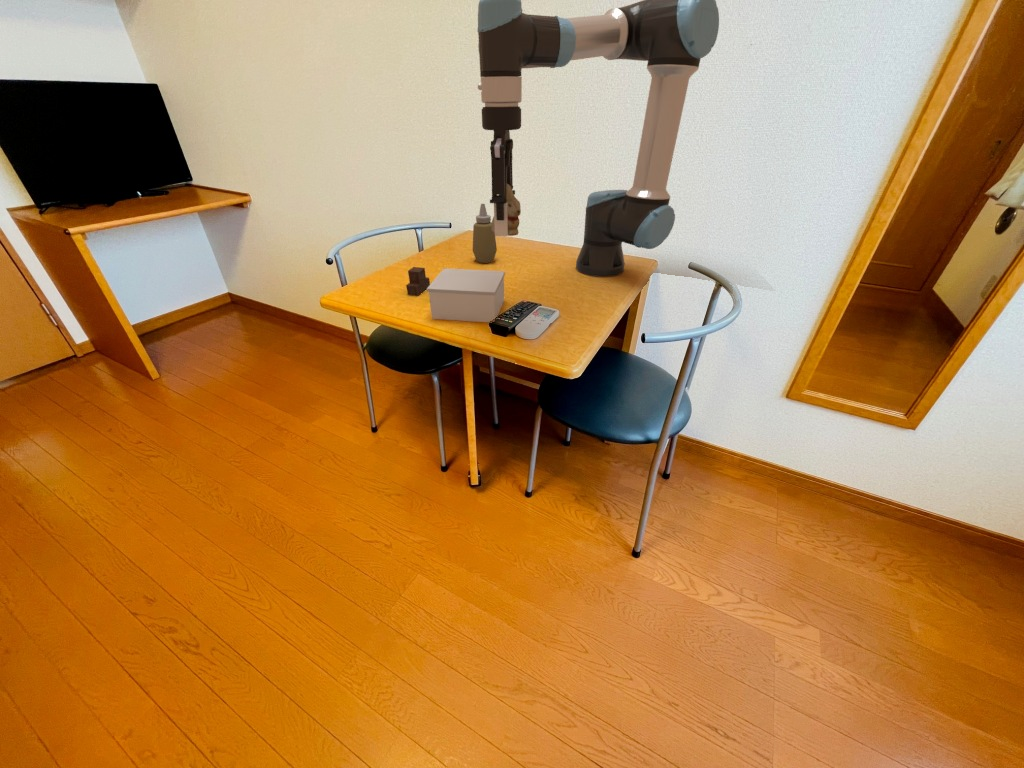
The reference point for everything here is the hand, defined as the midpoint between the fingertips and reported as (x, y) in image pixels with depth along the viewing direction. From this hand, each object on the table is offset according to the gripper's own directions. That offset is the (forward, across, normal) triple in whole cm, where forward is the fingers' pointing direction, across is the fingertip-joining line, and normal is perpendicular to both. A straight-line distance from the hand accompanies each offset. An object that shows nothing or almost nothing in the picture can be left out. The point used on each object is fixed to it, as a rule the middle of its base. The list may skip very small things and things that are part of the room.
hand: (503, 230), depth 94 cm
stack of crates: (+23, -17, -26) cm, 39 cm away
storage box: (+22, -6, -10) cm, 25 cm away
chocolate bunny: (0, 0, 0) cm, 1 cm away
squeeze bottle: (+22, -46, -13) cm, 52 cm away
